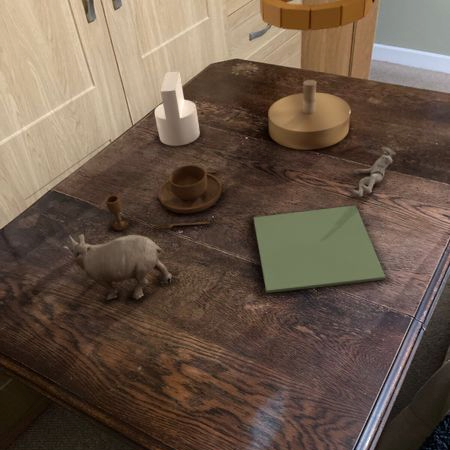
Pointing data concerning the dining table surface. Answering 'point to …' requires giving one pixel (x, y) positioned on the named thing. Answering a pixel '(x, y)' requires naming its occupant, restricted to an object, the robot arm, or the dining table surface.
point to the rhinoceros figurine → (119, 261)
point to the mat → (315, 249)
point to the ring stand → (309, 119)
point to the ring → (313, 14)
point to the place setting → (179, 194)
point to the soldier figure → (374, 172)
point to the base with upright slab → (176, 113)
